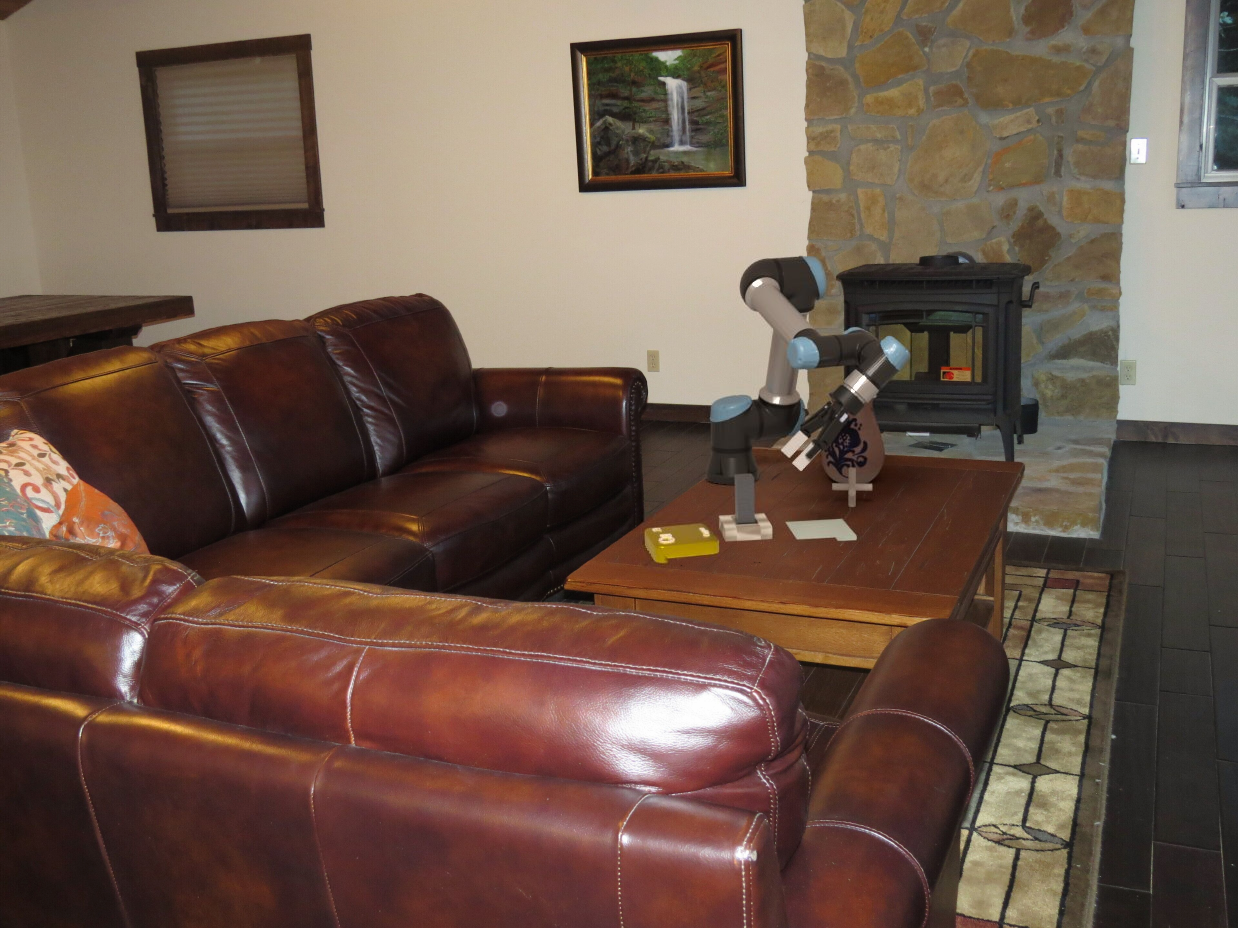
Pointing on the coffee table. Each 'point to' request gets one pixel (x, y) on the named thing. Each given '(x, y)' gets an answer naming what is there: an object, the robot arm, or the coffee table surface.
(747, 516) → the peg
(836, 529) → the plate
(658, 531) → the element tile
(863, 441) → the ceramic pitcher
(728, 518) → the socket block
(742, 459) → the robot arm
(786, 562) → the coffee table surface
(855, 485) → the pipe connector
